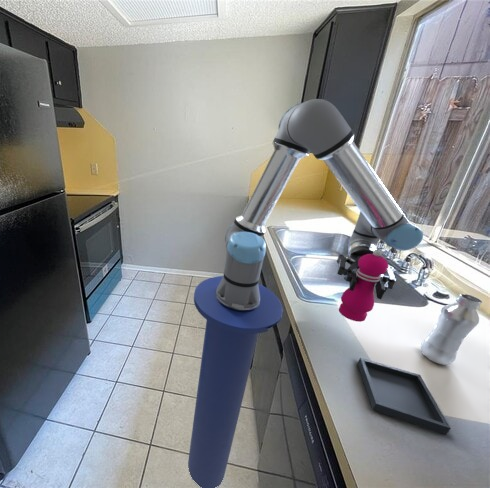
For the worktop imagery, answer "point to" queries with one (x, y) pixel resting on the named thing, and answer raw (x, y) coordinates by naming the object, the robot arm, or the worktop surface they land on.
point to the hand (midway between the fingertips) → (366, 290)
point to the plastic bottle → (451, 329)
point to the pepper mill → (363, 287)
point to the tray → (401, 395)
